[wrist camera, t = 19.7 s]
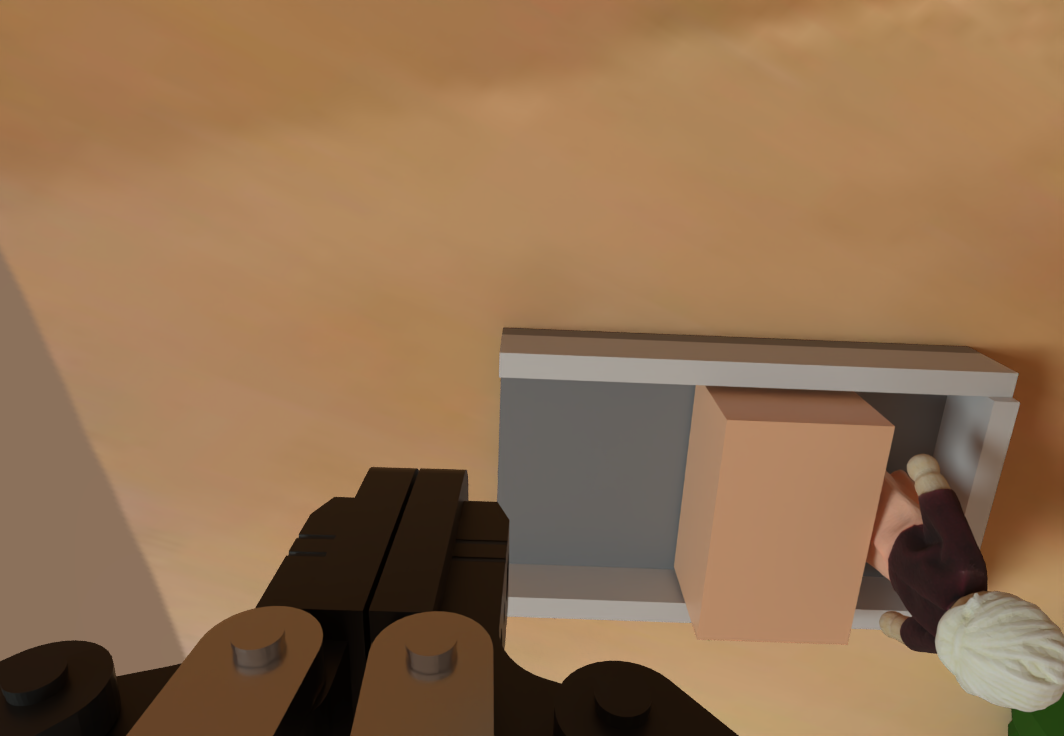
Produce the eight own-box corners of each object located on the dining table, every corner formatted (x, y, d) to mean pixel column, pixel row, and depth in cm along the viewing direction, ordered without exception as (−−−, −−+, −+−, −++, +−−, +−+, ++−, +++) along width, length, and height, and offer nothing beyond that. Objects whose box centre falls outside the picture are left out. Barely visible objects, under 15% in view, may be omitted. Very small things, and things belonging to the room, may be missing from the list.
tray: (968, 346, 32) (1027, 377, 28) (910, 584, 36) (955, 639, 32) (503, 327, 31) (499, 356, 28) (495, 569, 35) (491, 623, 32)
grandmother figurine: (903, 542, 34) (1108, 777, 22) (818, 558, 34) (975, 799, 22) (890, 388, 31) (1113, 557, 19) (800, 407, 32) (964, 585, 20)
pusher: (839, 378, 31) (895, 426, 26) (803, 571, 34) (847, 644, 29) (697, 373, 31) (726, 419, 26) (673, 566, 34) (696, 639, 29)
